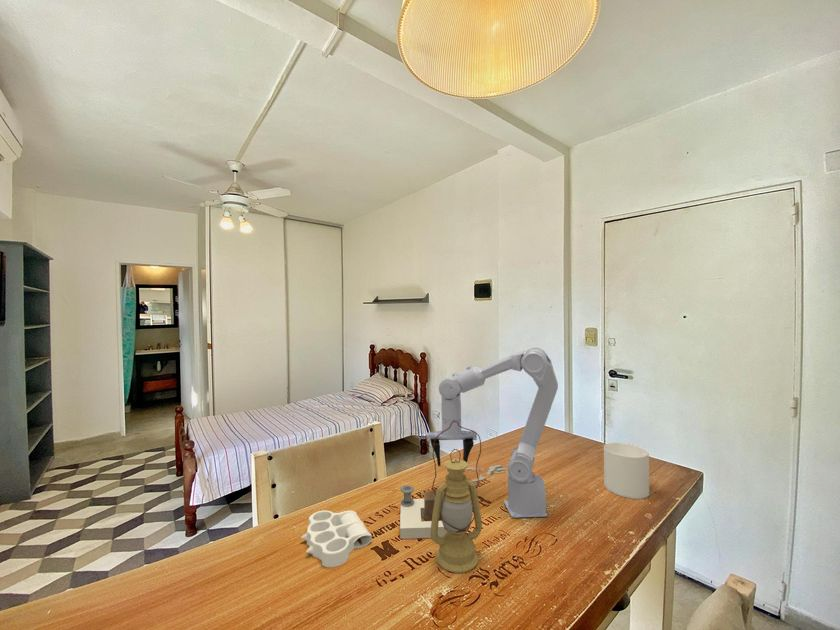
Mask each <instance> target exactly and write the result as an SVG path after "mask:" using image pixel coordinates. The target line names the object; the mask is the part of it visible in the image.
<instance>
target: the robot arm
mask: <svg viewBox="0 0 840 630" xmlns="http://www.w3.org/2000/svg"><path fill="white" fill-rule="evenodd" d="M511 370H513V371H517V372H522V370H523V371H524V372H525V373H526V374H527V375H528V376H530V377H531V378H532V379H533V382H534V383H535V385H536V386H537V388H538V389H537V392H536V395H535V398H534V400H533V403H532V405H531V408H530V411H529V413H528V414H529V415H528V418H527V419H526V423H525V425H524V428H523V432H522V435H521V438H520V439H519V443H518V445H517V446H516V447H515V448H514V449H513V450H512V451H511V454H510V455H511V456H510V459H509V462H508V463H507V467H506V468H507V469H506V470H507V499H504V500H503V504H504V506H505V508H506V509H507V511H508V513H509V515H510V516H511V518H513V519H514V518H515V519H519V518H539V517H540V518H541V517H542V518H545V517H547V516H548V514H547V500H546V499H547V494H546V486H545V485H546V484H545V481H544V479H543V477H542V476H541V475H536V474H535V473H534V471H533V466H534V463H535V454H536V451H537V448H538V445H539V443H540V439H541V436H542V433H543V431H544V428H545V426H546V422H547V420H548V417H549V415H550V411H551V410H552V405H553V403H554V400H555V397H556V395H557V391H558V387H559V383H558V380H557V376H556V372H555V370H554V367H553V362H552V360H551V358H550V357H549V356H548V353H546V351H545V350H543V349H542V348H539V347H531V348H529V349H527V350H522V351H518V352H516V353H512V354H510V355H507V356H505V357H503V358H501V359H499V360H496V361H495V362H492V363H490V364H489V365H486V366H484V367H479V366H472V365H469V366H467V367H465V370H462V371H461V372H458V373H457V372H454V373H453V374H452V376H449V377H446V378H445V379H443V380H442V381H441V382H440V383H439V386H438V392H439V394H440V396H441V404H440V405H441V430H439V431H432V432H426V440H427V441H426V442H430V444H431V445H430V446H432V447H431V448H433V446H434V454H435V457H436V461H437V463H436V464H437V467H441V443H440V441H461V440H462V446H463V448H462V449H463V450H462V451H463V453H462V460H463V461H465V462H467V463H468V461H469V456H470V453H471V451H472V449H473V447H474V443H475V442H474V441H477V440H478V439H477V437H478V435H477V434H478V433H477V432H476V433H477V434H476V433H474V432H472V431H470V430H462V428H461V427H462V402H461V399H462V398H461V393H467V392H469V391H471V390H474V389H476V388H478V387H481V386H484V385H485V381H486V379H489V378H492V377H494V376H496V375H499V374H501V373H504V372H507V371H511ZM453 421H457V422H458V423H457V422H453ZM451 422H453V423H452V425H451ZM458 424H459V425H460V426H461V427H459V426H458ZM450 425H451V427H450ZM449 427H450V428H449ZM448 428H449V429H448ZM446 429H448V430H446ZM444 430H446V431H445V432H443V431H444ZM441 432H443V433H442V434H440V433H441ZM439 434H440V435H439ZM438 435H439V436H438ZM437 436H438V437H437ZM436 437H437V438H436ZM435 438H436V440H435ZM434 440H435V445H434Z"/></svg>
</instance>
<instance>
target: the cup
mask: <svg viewBox="0 0 840 630" xmlns="http://www.w3.org/2000/svg"><path fill="white" fill-rule="evenodd" d="M603 474H604V475H603V483H604V484H603V485H604V487H605V489H606V490H608V491H609V492H610V493H612V494H614V495H617V496H619V497H623V498H627V499H632V500H642V499H646V498H648V497H649V496H650V454H649V451H648V450H646V449H645V448H644V447H640V446H639V445H634V444H631V443H626V442H608V443H606V444H604V445H603Z"/></svg>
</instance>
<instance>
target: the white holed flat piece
mask: <svg viewBox="0 0 840 630" xmlns="http://www.w3.org/2000/svg"><path fill="white" fill-rule="evenodd" d="M299 538H300V539H302V540H305V541H306V545H307V546H308V548H307V550H306V551H305V554H311V556H312V557H313V558H317V559H319V560H320V561H321V566H323V567H325V568H336V567H340V566H342V565H343V564H345V563H346V562H347V561H348V560H349V557H350V553H351V552H352V551H353V550H356V549H360V548H363V547H366V546H368V545H369V544H370V543H371V541H372V540H373V536H372V533H370V532H369V530H368V528H367V527H366V526H365V524H364V522H363V521H362V520H361V519H360V517H359V516H358V513H357V512H356V511H355V510H344V511H341V512H333V511H330V510H319V511H315V512H314V513H312V514H310V516H309V517H308V526H307V528H306V533H304V534H303V535H302V536H300V537H299ZM359 539H360V541H361V543H360V542H359V541H358V540H359Z"/></svg>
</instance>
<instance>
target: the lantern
mask: <svg viewBox="0 0 840 630" xmlns="http://www.w3.org/2000/svg"><path fill="white" fill-rule="evenodd" d="M453 422H457V421H453ZM453 422H451V425H452V423H453ZM457 423H458V422H457ZM451 425H450V427H451ZM458 426H459V427H461V429H463V430H466V431H472V432H474V433H476V434H477V437H478V439H479V445H480V449H479V454H478V457H477V459H476V464H475V465H476V467H475V468H476V472H475V473H476V479H478V482H477V485H476V482H473V481H472V480H473V479H469V478H467V476H466V474H464V473H465V471H466V470H465V469H466V468H469V463H468V461H467V462H465V461H463V459H461V451H460V450H459V449H457V448H453V450H451V452H450V453H449V454H450V455H449V456H450V459H448V460H446V461H444V463H443V465H444V468H446V469H447V472H448V473H447V474H446V475H445V481H444V482H442V483H440V484H439V485H438V486H437V488H436V491H435V490H434V483H435V481H436V478H437V468H436V467H437V463H436V461H435V460H436V459H435V456H434V454H435V452H434V446H433V447H432V459H433V462H434V472H435V474H434V478H433V482H432V487H431V490H432V492H434V494H435V492H436V494H435V502H434V508H433V514H432V522H431V538H430V539H431V541H432V542H433V543H434V544H436V545H438V547H439V548H438V549H437V551H436V554H435V558H436V561H437V563H438V565H439V566H440V567H441V568H442V569H444V570H445V571H447V572H450V573H453V574H464V573H467V572H470V571H471V570H473V569H474V568H475V567H476V566H477V565H478V563H479V554H478V553H477V551H476V550H475V549H476V548H475V547H476V545H475V543H474V540H476V539H477V538H478V537H479V535H480V534H481V532H482V529H483V522H482V513H481V508H480V502H479V501H480V500H479V496H478V491H477V488H478V487H479V483H480V481H479V478H480V477H479V473H478V472H477V468H478V463H479V460H480V456H481V453H482V441H481V436H480V435H479V434H478V433H477V432H476V431H475V430H472V429H469V428H466V427H463V426H462V425H461V426H460V425H459V424H458ZM450 427H449V428H450ZM449 428H448V429H449ZM448 429H446V430H448ZM446 430H444V431H443V432H445V431H446ZM443 432H441V433H440V434H442V433H443ZM440 434H439V435H440ZM439 435H438V436H439ZM438 436H437V437H438ZM437 437H436V438H437ZM436 438H435V440H436ZM435 440H434V445H435ZM454 451H457V452H459V458H458V459H457V458H453V459H452V453H453V452H454ZM439 515H440V516H441V517H439ZM439 521H442V523H443V526H444V528H445V530H446V531H447V533H446V534H445V535H444V536H443V537H439V536H438V523H439ZM473 522H474V526H475V527H474V529H473V531H470V532H468V531H469V530H470V528H471V525H472V523H473Z"/></svg>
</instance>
